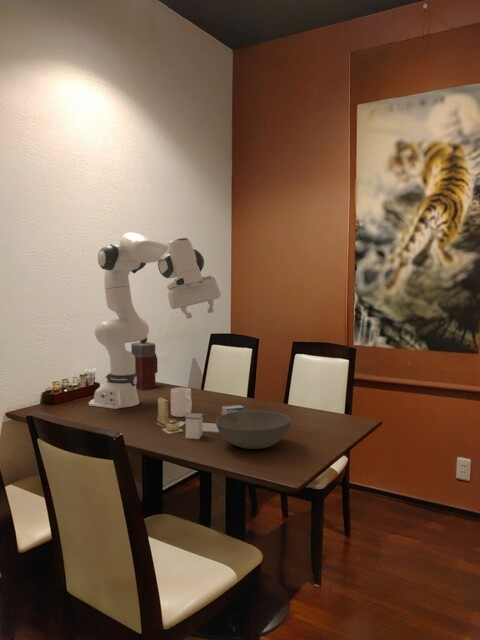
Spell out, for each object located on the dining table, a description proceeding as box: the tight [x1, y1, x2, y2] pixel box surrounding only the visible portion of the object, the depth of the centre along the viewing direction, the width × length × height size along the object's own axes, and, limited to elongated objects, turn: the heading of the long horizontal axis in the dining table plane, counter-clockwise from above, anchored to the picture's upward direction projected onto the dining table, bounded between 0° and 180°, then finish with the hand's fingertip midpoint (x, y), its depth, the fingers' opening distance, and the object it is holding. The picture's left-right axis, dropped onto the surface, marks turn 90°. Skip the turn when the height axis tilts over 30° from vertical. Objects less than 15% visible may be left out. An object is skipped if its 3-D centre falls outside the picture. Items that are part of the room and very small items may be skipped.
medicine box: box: [221, 404, 246, 416], centre depth 201 cm, size 8×4×9 cm, turn 118°
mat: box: [202, 422, 220, 434], centre depth 202 cm, size 10×10×1 cm
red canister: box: [130, 336, 159, 391], centre depth 269 cm, size 9×11×28 cm
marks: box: [156, 421, 186, 435], centre depth 202 cm, size 13×15×1 cm
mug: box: [170, 387, 193, 418], centre depth 219 cm, size 9×12×11 cm
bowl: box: [215, 409, 292, 450], centre depth 182 cm, size 26×26×10 cm
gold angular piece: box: [157, 397, 180, 431], centre depth 202 cm, size 14×5×10 cm, turn 35°
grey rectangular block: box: [184, 412, 204, 440], centre depth 191 cm, size 5×5×8 cm
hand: (200, 315), depth 193 cm, fingers open, 8 cm apart
